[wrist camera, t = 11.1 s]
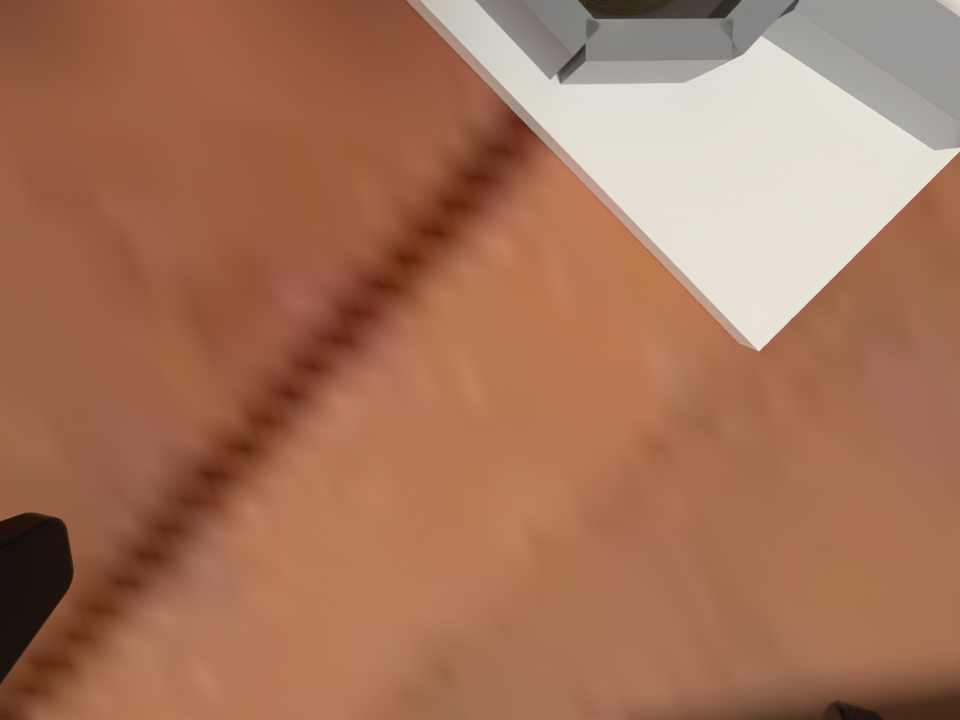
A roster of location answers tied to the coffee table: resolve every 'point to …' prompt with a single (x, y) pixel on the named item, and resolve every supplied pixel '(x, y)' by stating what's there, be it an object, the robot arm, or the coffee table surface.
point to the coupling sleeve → (624, 6)
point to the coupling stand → (732, 126)
